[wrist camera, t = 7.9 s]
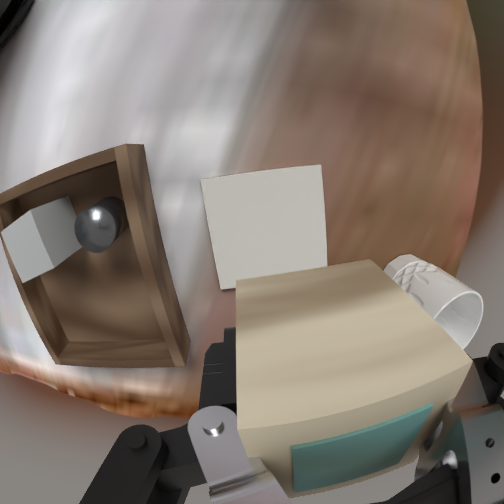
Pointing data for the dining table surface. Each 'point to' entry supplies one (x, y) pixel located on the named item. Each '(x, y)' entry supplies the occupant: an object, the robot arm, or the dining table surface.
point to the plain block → (42, 238)
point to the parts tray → (103, 271)
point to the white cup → (439, 296)
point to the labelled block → (338, 375)
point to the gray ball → (101, 224)
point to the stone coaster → (266, 222)
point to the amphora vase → (11, 17)
